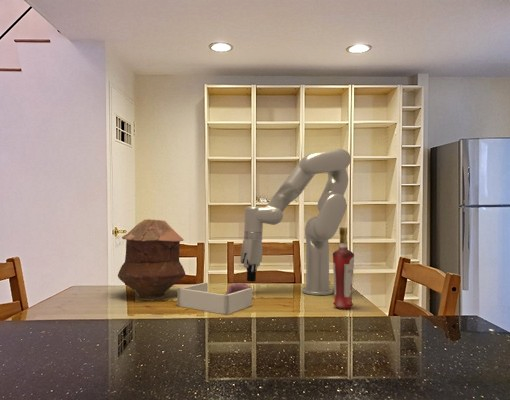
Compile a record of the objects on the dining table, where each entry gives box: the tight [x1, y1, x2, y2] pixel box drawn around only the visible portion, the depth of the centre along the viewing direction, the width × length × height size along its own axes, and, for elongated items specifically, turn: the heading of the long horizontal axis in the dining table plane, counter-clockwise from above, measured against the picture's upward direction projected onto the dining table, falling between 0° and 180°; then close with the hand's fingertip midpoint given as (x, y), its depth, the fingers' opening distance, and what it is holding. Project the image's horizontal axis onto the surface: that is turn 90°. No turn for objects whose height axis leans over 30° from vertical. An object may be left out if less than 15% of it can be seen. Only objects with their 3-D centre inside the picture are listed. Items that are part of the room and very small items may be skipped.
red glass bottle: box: [332, 226, 355, 310], centre depth 137 cm, size 7×7×28 cm
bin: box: [176, 282, 253, 316], centre depth 138 cm, size 15×21×6 cm
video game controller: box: [224, 282, 252, 295], centre depth 150 cm, size 10×5×7 cm, turn 71°
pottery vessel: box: [117, 219, 186, 298], centre depth 156 cm, size 26×26×30 cm
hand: (251, 281), depth 159 cm, fingers closed
